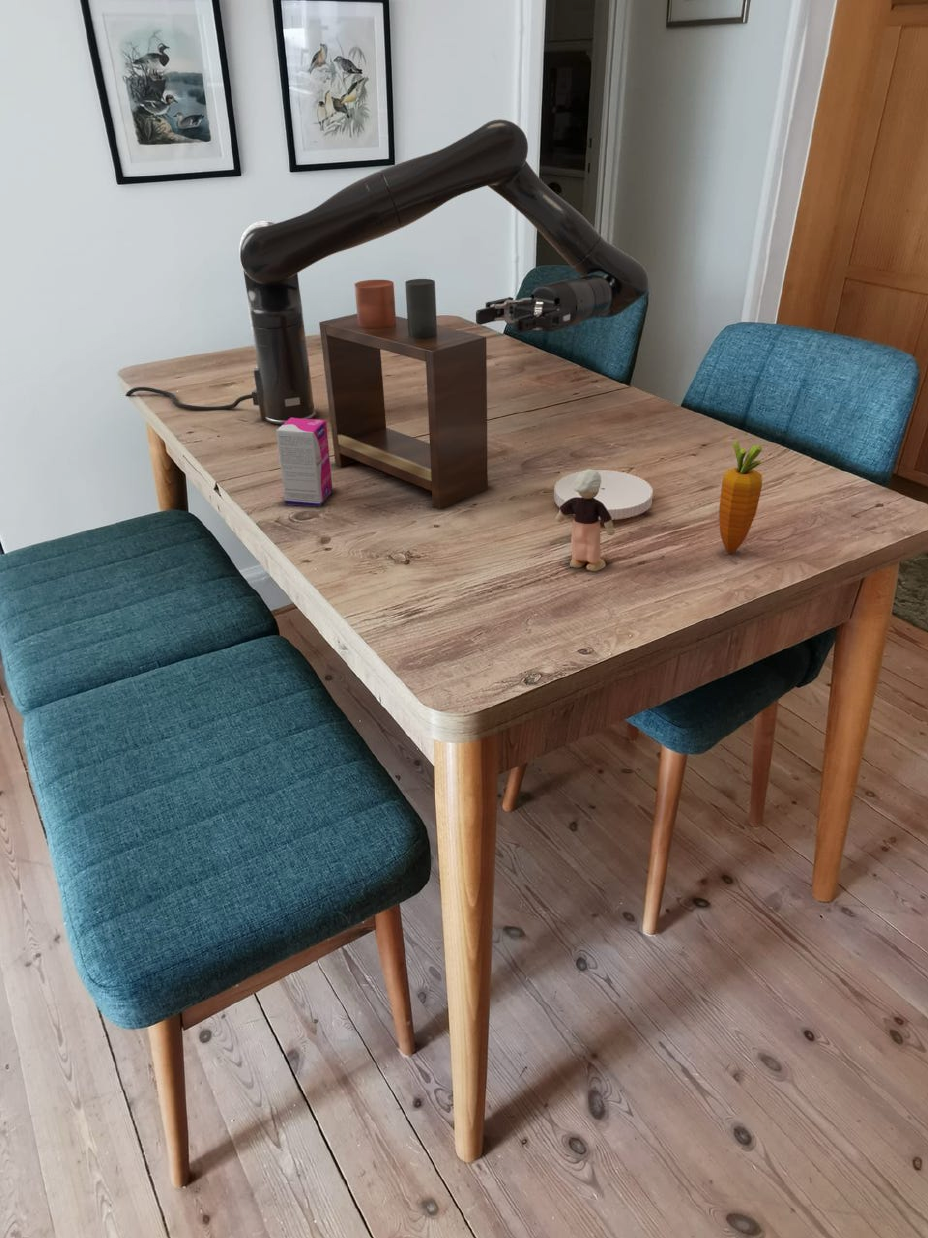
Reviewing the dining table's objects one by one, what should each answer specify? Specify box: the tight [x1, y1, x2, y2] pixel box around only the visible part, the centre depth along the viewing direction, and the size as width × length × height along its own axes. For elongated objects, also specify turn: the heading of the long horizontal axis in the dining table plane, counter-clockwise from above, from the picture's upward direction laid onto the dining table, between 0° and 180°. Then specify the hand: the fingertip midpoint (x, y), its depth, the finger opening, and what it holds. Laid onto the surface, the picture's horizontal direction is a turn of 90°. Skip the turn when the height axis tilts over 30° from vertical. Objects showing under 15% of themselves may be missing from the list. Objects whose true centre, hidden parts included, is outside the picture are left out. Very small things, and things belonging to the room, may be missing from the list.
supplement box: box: [275, 418, 333, 507], centre depth 122 cm, size 6×6×12 cm
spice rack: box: [318, 278, 489, 510], centre depth 123 cm, size 25×10×30 cm, turn 44°
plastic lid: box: [553, 469, 654, 521], centre depth 120 cm, size 14×14×2 cm
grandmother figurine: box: [555, 468, 616, 572], centre depth 103 cm, size 8×4×13 cm, turn 71°
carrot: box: [718, 441, 763, 555], centre depth 103 cm, size 5×5×15 cm
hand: (496, 321), depth 132 cm, fingers open, 8 cm apart
